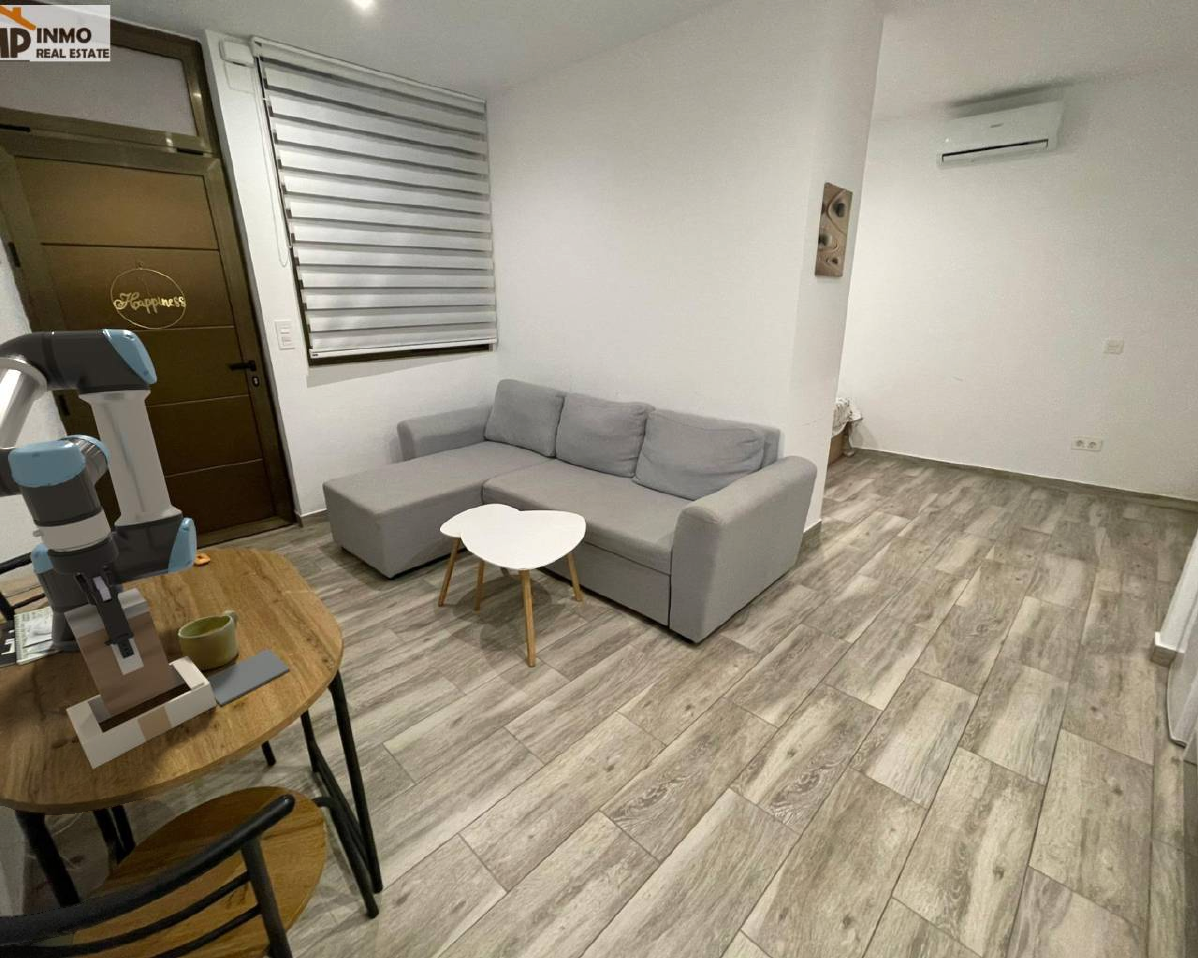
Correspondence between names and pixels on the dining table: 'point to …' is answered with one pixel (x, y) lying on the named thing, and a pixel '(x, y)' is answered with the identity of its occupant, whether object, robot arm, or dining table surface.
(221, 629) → the mug
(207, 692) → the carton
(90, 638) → the walnut box
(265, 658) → the mat
